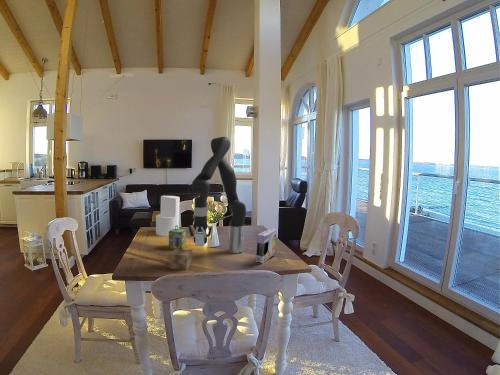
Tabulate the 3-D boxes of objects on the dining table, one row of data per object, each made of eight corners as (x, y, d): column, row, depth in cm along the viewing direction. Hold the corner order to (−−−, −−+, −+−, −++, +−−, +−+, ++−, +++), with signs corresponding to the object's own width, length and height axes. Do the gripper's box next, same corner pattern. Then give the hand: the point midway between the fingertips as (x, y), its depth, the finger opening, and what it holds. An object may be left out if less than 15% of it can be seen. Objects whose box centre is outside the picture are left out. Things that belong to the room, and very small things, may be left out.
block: (205, 243, 191) (205, 232, 190) (203, 246, 186) (203, 234, 185) (197, 243, 191) (197, 231, 190) (195, 245, 186) (195, 234, 185)
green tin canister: (181, 249, 210) (182, 227, 208) (168, 248, 211) (168, 226, 209) (186, 245, 219) (186, 224, 218) (172, 244, 220) (173, 223, 218)
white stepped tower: (168, 229, 262) (169, 195, 259) (183, 233, 252) (184, 197, 249) (151, 233, 248) (151, 196, 245) (165, 237, 238) (166, 199, 235)
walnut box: (191, 263, 185) (191, 250, 184) (186, 269, 175) (187, 255, 174) (174, 262, 186) (174, 248, 185) (168, 268, 176) (168, 254, 175)
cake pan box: (261, 265, 189) (263, 235, 187) (254, 263, 191) (255, 233, 189) (275, 256, 205) (277, 229, 203) (268, 255, 208) (270, 228, 206)
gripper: (213, 213, 190) (213, 241, 192) (189, 212, 190) (189, 241, 192) (211, 216, 182) (211, 245, 184) (186, 215, 183) (186, 244, 185)
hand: (200, 243), depth 188 cm, fingers closed on block, 5 cm apart
